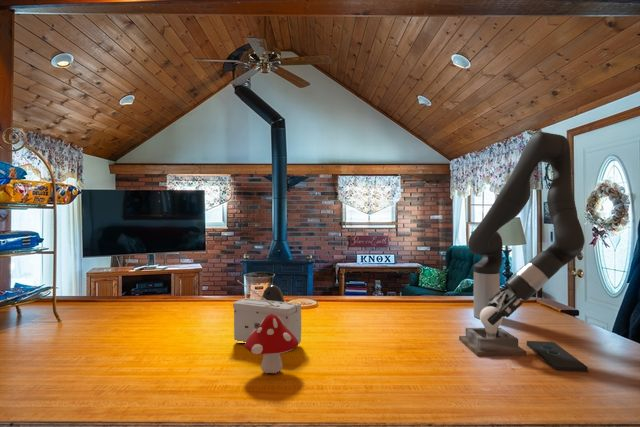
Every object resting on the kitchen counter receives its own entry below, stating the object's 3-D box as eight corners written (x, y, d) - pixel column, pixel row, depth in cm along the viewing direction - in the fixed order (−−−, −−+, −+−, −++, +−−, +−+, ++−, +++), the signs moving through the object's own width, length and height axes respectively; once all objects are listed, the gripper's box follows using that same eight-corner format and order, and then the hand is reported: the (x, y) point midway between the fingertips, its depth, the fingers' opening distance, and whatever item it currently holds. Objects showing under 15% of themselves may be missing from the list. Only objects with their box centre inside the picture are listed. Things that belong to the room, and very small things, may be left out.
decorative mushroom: (275, 389, 91) (274, 325, 91) (232, 376, 98) (231, 316, 98) (309, 368, 103) (308, 311, 103) (268, 358, 110) (267, 305, 110)
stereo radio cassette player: (302, 345, 121) (302, 280, 121) (289, 354, 113) (288, 285, 113) (246, 336, 130) (245, 276, 130) (230, 344, 122) (230, 280, 122)
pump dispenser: (252, 330, 136) (251, 287, 136) (267, 322, 145) (266, 281, 145) (278, 334, 132) (278, 289, 132) (292, 325, 142) (291, 283, 141)
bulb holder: (459, 339, 125) (459, 326, 125) (502, 339, 125) (502, 326, 125) (477, 356, 111) (477, 341, 111) (526, 355, 111) (526, 340, 111)
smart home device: (554, 341, 119) (589, 367, 100) (554, 346, 120) (589, 374, 100) (525, 340, 121) (554, 365, 101) (525, 345, 121) (554, 372, 101)
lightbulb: (505, 347, 115) (505, 309, 115) (482, 345, 116) (482, 308, 116) (499, 339, 121) (499, 304, 121) (477, 338, 122) (477, 303, 122)
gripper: (509, 268, 124) (471, 304, 126) (525, 276, 110) (482, 315, 112) (527, 286, 123) (489, 321, 125) (546, 296, 109) (502, 335, 111)
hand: (486, 318), depth 118 cm, fingers open, 8 cm apart
